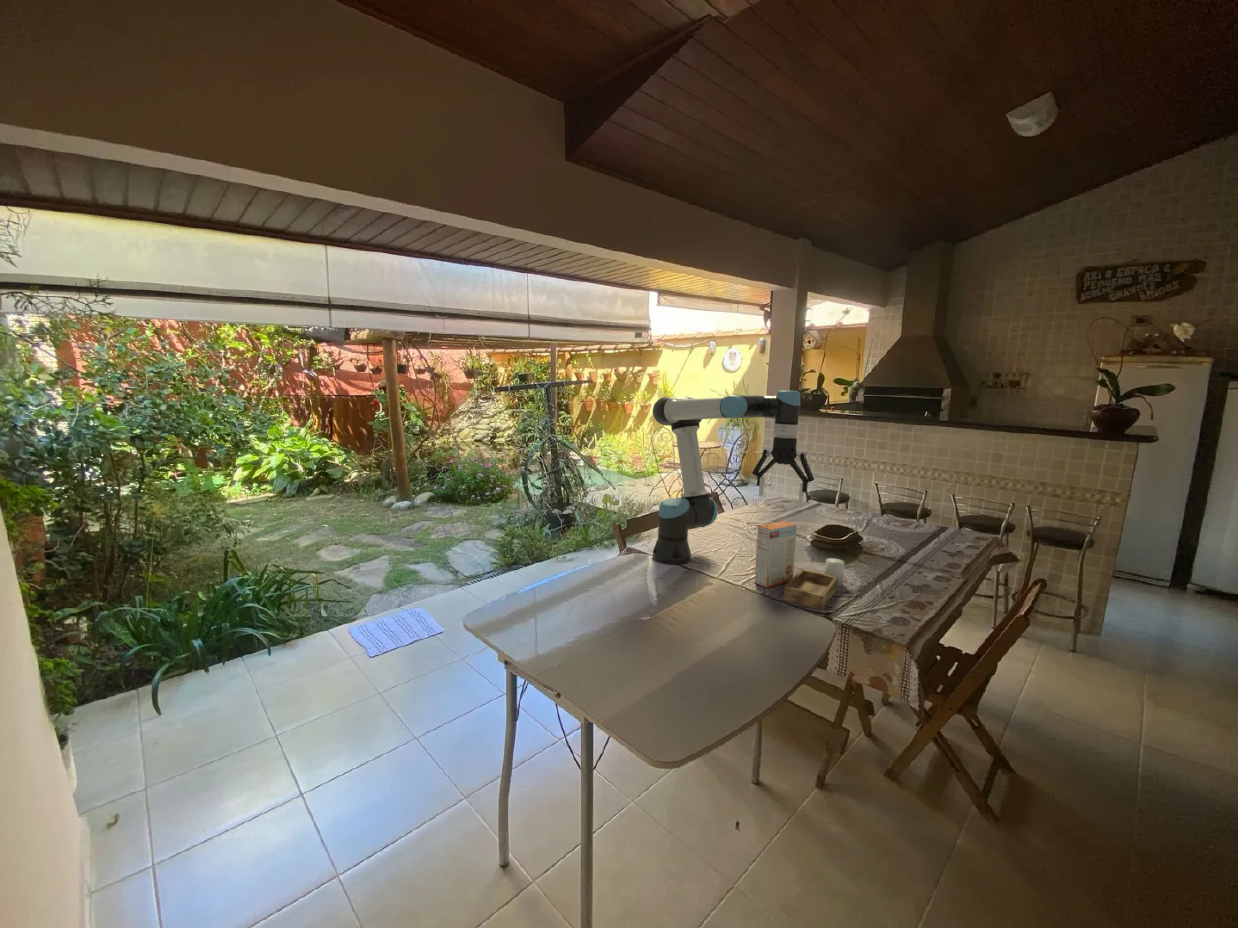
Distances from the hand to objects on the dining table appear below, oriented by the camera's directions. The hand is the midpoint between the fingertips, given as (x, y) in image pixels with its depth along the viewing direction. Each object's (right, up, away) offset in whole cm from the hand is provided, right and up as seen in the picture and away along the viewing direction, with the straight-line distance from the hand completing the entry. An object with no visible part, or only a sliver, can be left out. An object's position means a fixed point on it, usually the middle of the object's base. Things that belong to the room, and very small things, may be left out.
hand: (780, 498), depth 166 cm
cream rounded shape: (+20, -30, +5) cm, 37 cm away
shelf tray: (+8, -32, -6) cm, 33 cm away
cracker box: (-1, -30, +5) cm, 30 cm away
